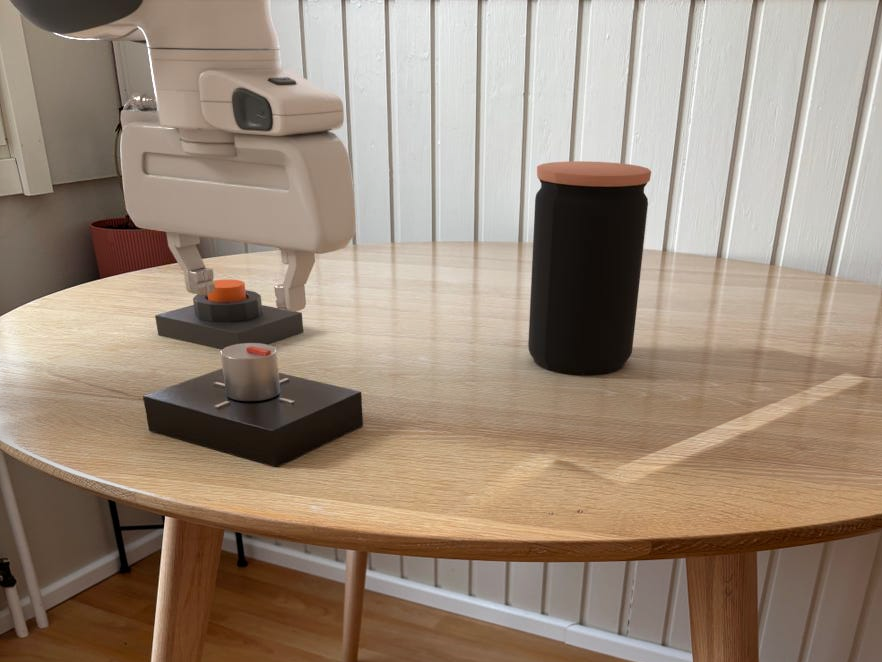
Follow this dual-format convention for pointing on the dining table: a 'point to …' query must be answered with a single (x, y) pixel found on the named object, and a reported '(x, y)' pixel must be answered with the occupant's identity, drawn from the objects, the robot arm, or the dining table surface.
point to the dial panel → (255, 417)
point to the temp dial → (250, 371)
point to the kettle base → (229, 322)
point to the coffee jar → (586, 265)
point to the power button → (228, 291)
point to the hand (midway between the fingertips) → (245, 301)
